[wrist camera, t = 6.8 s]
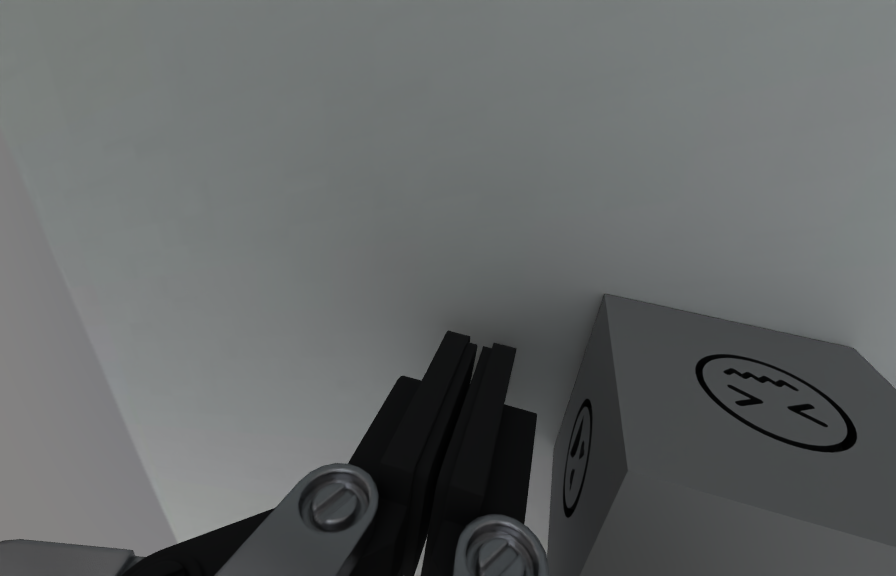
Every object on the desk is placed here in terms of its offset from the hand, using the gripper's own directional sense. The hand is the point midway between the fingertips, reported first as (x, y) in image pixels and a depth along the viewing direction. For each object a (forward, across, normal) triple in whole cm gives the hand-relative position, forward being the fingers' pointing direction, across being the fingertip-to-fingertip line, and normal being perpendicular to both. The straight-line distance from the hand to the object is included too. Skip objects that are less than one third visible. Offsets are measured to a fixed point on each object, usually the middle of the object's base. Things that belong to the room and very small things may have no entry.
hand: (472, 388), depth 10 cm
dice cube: (+2, -5, 0) cm, 5 cm away
